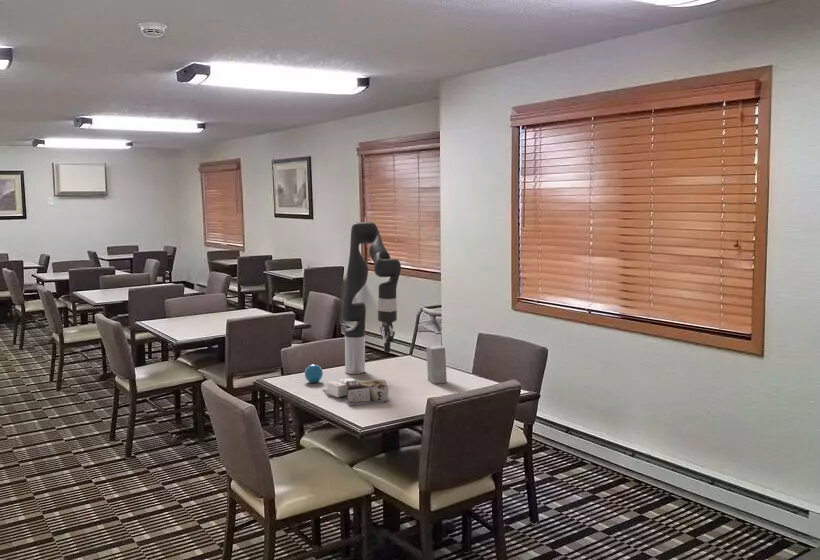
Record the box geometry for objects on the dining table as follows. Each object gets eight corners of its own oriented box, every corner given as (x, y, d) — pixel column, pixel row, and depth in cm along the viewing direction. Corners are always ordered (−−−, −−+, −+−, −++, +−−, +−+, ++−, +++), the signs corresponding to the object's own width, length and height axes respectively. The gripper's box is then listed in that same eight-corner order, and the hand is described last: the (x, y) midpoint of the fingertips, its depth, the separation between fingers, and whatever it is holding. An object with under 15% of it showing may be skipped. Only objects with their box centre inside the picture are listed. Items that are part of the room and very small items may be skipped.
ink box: (361, 381, 284) (338, 385, 276) (362, 392, 284) (338, 397, 277) (349, 377, 290) (326, 381, 283) (349, 388, 291) (326, 393, 283)
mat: (322, 390, 289) (322, 389, 289) (367, 386, 296) (367, 385, 296) (336, 407, 265) (336, 406, 265) (385, 403, 271) (385, 402, 271)
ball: (310, 379, 308) (310, 361, 307) (326, 381, 305) (326, 363, 304) (301, 383, 301) (300, 365, 300) (316, 385, 297) (316, 367, 297)
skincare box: (447, 383, 302) (447, 348, 301) (431, 384, 300) (431, 348, 299) (440, 378, 310) (441, 344, 309) (425, 379, 308) (425, 345, 307)
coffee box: (388, 385, 272) (347, 386, 270) (388, 401, 273) (347, 402, 270) (385, 379, 281) (345, 380, 278) (385, 394, 282) (345, 396, 279)
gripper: (373, 307, 278) (373, 349, 280) (383, 312, 266) (382, 356, 268) (391, 306, 280) (391, 347, 282) (401, 311, 268) (401, 354, 270)
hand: (387, 351), depth 275 cm, fingers closed
